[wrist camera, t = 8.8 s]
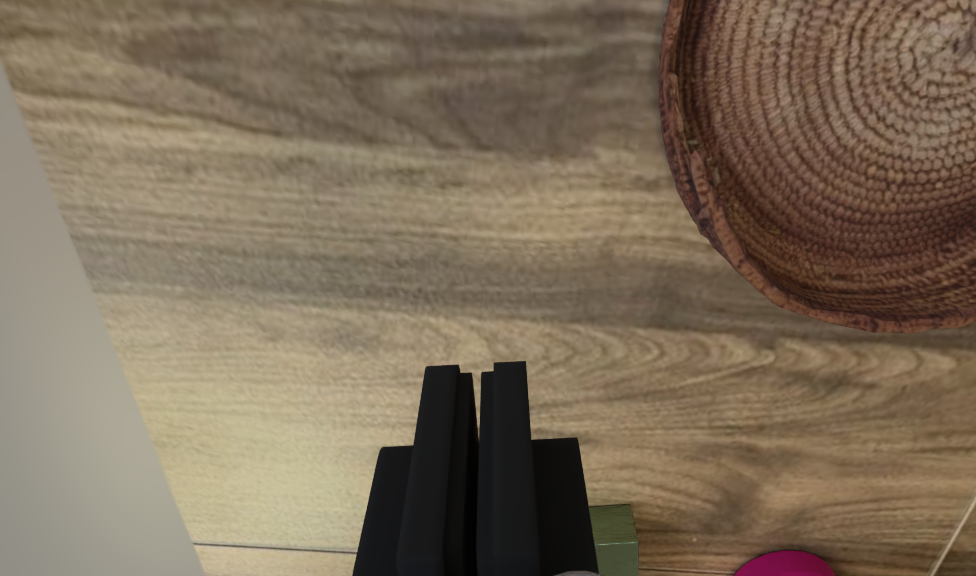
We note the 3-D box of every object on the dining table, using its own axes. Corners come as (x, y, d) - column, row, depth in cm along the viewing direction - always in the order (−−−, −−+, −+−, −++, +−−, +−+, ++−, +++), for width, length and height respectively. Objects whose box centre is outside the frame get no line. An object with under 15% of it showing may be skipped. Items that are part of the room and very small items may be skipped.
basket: (691, -355, 22) (740, -422, 17) (1342, -367, 22) (1557, -438, 17) (630, 282, 32) (651, 339, 28) (1065, 279, 32) (1154, 336, 28)
